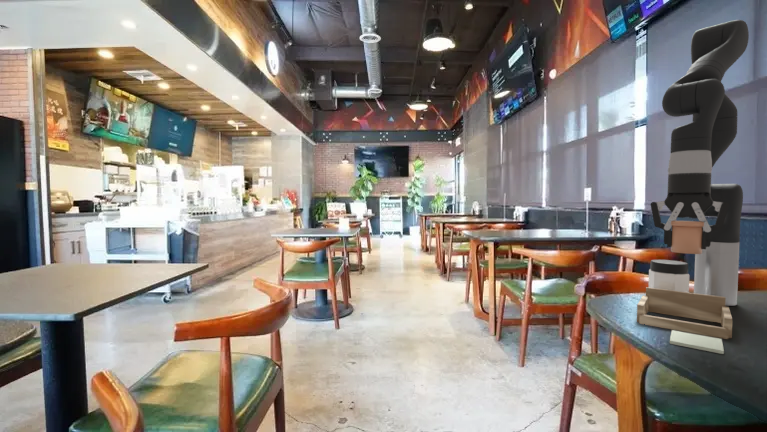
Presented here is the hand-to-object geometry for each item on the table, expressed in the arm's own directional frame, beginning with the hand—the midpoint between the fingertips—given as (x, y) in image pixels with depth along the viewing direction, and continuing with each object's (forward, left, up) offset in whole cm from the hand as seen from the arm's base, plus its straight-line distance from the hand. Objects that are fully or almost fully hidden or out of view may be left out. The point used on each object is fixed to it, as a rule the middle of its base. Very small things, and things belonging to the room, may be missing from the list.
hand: (686, 247), depth 85 cm
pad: (+11, +2, -18) cm, 21 cm away
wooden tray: (-3, 0, -18) cm, 18 cm away
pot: (0, 0, -1) cm, 1 cm away
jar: (-19, -4, -18) cm, 26 cm away
